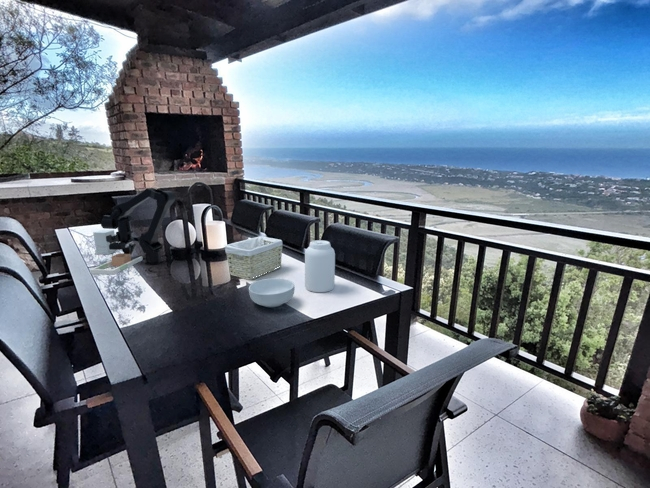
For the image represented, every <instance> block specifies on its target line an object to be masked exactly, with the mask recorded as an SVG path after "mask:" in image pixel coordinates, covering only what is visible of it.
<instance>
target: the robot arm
mask: <svg viewBox="0 0 650 488" xmlns="http://www.w3.org/2000/svg"><path fill="white" fill-rule="evenodd" d="M176 197H177V196H176V194H175V193H174V191H172V190H162V189H157V188H154V187H147V188H145V189H144V190H143V191H141V192H140V193H138V194H137V195H135V196H134V197H132V198H131V199H129V200H127V201H126V202H122V203H118V204H117V205H114V206H113V207H112V212H111V214H110V215H108V214H107V215H106V214H105V215H102V219H101V222H100V225H101V227H102V228H103V230H117V231H116V232H115V235H114V236H111V235H108V236H106V241H107V242H109V243H110V245H109V249H110V250H117V251H118V250H119V251H120V250H121V251H122V253H123V254H131V255H132V254H133V252H134V249H135V247H136V246H137V244H136V243H134V242H138V244H139V246H140V248H141V249H142V251H143V253H144V254H145V255H144V256H145V263H144V265H158V264H159V265H160V263H163V262H164V259H162V251H161V250H162V249H163V244H162V243H161V242H160V241H159V231H160V229H161V226H162V223H163V221H164V219H165V216H166V213H167V211H168V210H169V208H170V207H171V206H172V205H173V204H174V202H175V201H176ZM149 199H153V200H155V201H156V209H155V211H154V214H153V217H152V219H151V221H150V224H149V226H148V229H147V231H146V232H145V231H144V232H143V233H141V234H140V235H133V233H134V230H132V226H131V222H132V221H135V218H133V216H131V215H130V214H131V213H133V211H134V210H135V209H136V207H138V206H140V205H141V204H143V203H144V202H146V201H147V200H149ZM112 242H114V243H112Z"/></svg>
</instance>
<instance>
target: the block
mask: <svg viewBox="0 0 650 488" xmlns="http://www.w3.org/2000/svg"><path fill="white" fill-rule="evenodd" d="M131 256H132V254H124V253H123V252H122V253H117V254H114V255H112V256H111V257H110V258H111V260H112V265H111V266H112V267H119V266H121V265H123V264H125V263H128V262H130V261H131V259H132V257H131Z"/></svg>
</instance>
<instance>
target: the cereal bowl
mask: <svg viewBox="0 0 650 488" xmlns="http://www.w3.org/2000/svg"><path fill="white" fill-rule="evenodd" d="M248 292H249V293H248V294H249V296H250V299H251V301H252V302H254V303H255V304H257V305H259V306H263V307H266V308H277V307H280V306H282V305H284V304H285V303H287V302H289V301H290V300H291V299H292V298H293V296H294V294H295V283H294V282H293V281H291V280H289V279H285V278H280V277H278V278H277V277H276V278H275V277H273V278H266V279H265V278H263V279H260V280H256V281H254V282H252V283H250V285H249V287H248Z"/></svg>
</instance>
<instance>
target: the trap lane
mask: <svg viewBox="0 0 650 488" xmlns="http://www.w3.org/2000/svg"><path fill="white" fill-rule="evenodd" d="M141 261H143V256H139V257H136V258H131V261H130V262H128V263H125V264H123V265H121V266H116V268H113V269H108V267H111V266H113V265H112V259H111V260H109V261H107V262H104V263H102V264H101V265H98V266H96V267H93V268H91V269H89V272H90V274H91V275H114V276H115V274H118V273H120V272H122V271H124V270H126V269H128V268H129V267H131V266H134V265H136V264H137V263H139V262H141Z"/></svg>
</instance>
